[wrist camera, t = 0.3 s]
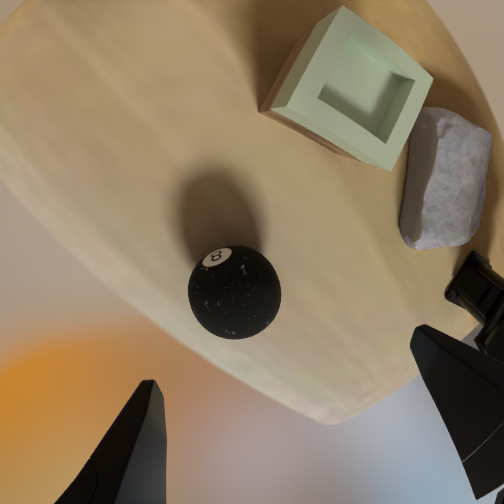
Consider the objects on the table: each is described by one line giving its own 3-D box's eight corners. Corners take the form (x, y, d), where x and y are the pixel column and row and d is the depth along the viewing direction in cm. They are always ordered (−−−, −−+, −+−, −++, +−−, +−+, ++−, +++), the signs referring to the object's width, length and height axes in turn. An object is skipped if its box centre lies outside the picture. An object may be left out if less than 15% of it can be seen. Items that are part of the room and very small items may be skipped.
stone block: (461, 118, 20) (402, 99, 17) (500, 128, 16) (453, 107, 13) (445, 225, 26) (385, 238, 23) (478, 245, 22) (425, 265, 19)
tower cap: (399, 80, 13) (433, 78, 10) (360, 160, 15) (390, 171, 12) (317, 22, 11) (342, 5, 9) (269, 108, 13) (286, 106, 11)
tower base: (367, 84, 17) (399, 81, 13) (333, 152, 19) (361, 161, 15) (296, 40, 15) (317, 23, 11) (257, 112, 17) (270, 110, 13)
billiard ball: (211, 312, 23) (214, 367, 18) (176, 252, 20) (167, 301, 15) (280, 285, 23) (301, 336, 18) (254, 219, 20) (272, 259, 15)
